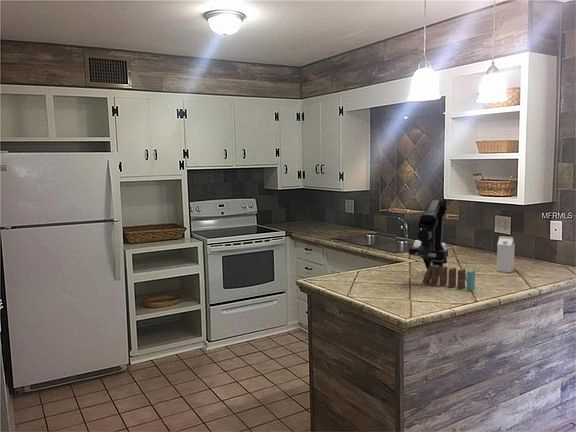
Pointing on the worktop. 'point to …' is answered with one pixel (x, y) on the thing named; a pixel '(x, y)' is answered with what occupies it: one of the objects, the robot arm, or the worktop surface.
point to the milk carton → (505, 254)
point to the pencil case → (418, 243)
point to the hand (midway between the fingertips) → (427, 269)
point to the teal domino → (471, 280)
